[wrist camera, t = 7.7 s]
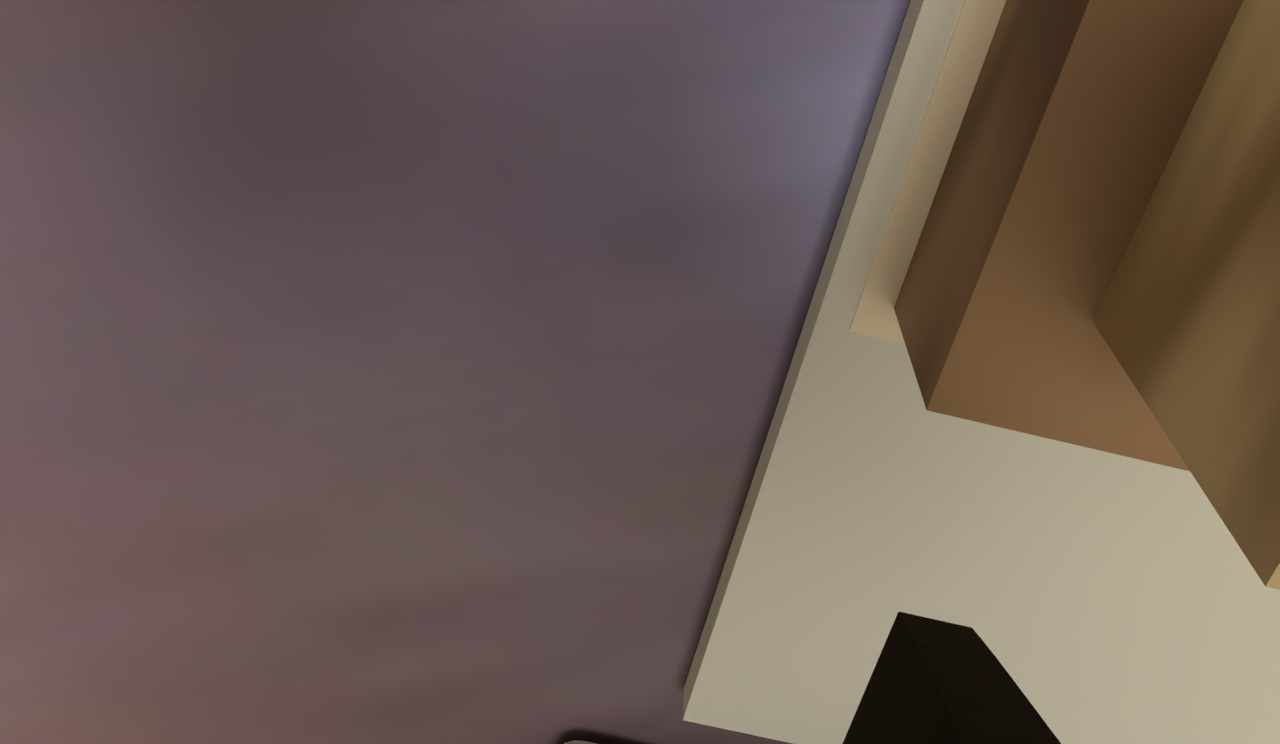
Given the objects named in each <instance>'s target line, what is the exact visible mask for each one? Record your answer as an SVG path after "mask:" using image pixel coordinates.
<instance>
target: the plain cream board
mask: <svg viewBox="0 0 1280 744" xmlns="http://www.w3.org/2000/svg"><path fill="white" fill-rule="evenodd" d="M1005 3H1006V0H911V1H910V4H909V7H908V10H907V13H906V16H905V19H904V22H903V25H902V28H901V31H900V34H899V37H898V40H897V43H896V46H895V49H894V52H893V55H892V58H891V61H890V64H889V68H888V71H887V74H886V77H885V80H884V83H883V86H882V89H881V92H880V95H879V98H878V101H877V104H876V107H875V110H874V113H873V116H872V119H871V122H870V125H869V128H868V131H867V134H866V137H865V140H864V143H863V146H862V149H861V152H860V155H859V158H858V161H857V165H856V168H855V171H854V174H853V177H852V180H851V183H850V186H849V189H848V192H847V195H846V198H845V201H844V204H843V207H842V210H841V213H840V216H839V219H838V222H837V225H836V228H835V231H834V234H833V237H832V240H831V243H830V246H829V249H828V252H827V255H826V259H825V262H824V265H823V268H822V271H821V274H820V277H819V280H818V283H817V286H816V289H815V292H814V295H813V298H812V301H811V304H810V307H809V310H808V313H807V316H806V319H805V322H804V325H803V328H802V331H801V334H800V337H799V340H798V343H797V346H796V349H795V352H794V356H793V359H792V362H791V365H790V368H789V371H788V374H787V377H786V380H785V383H784V386H783V389H782V392H781V395H780V398H779V401H778V404H777V407H776V410H775V413H774V416H773V419H772V422H771V425H770V428H769V431H768V434H767V437H766V440H765V443H764V446H763V450H762V453H761V456H760V459H759V462H758V465H757V468H756V471H755V474H754V477H753V480H752V483H751V486H750V489H749V492H748V495H747V498H746V501H745V504H744V507H743V510H742V513H741V516H740V519H739V522H738V525H737V528H736V531H735V534H734V537H733V540H732V543H731V547H730V550H729V553H728V556H727V559H726V562H725V565H724V568H723V571H722V574H721V577H720V580H719V583H718V586H717V589H716V592H715V595H714V598H713V601H712V604H711V607H710V610H709V613H708V616H707V619H706V622H705V625H704V628H703V631H702V634H701V637H700V641H699V644H698V647H697V650H696V653H695V656H694V659H693V662H692V665H691V668H690V671H689V674H688V677H687V680H686V683H685V686H684V693H683V720H685V721H689V722H694V723H699V724H703V725H708V726H713V727H717V728H722V729H727V730H732V731H736V732H741V733H746V734H750V735H755V736H760V737H764V738H769V739H774V740H779V741H783V742H788V743H793V744H843V741H844V739H845V737H846V734H847V732H848V729H849V727H850V725H851V722H852V720H853V718H854V715H855V713H856V711H857V708H858V706H859V703H860V701H861V699H862V696H863V694H864V692H865V689H866V687H867V685H868V682H869V680H870V677H871V675H872V673H873V670H874V668H875V666H876V663H877V661H878V659H879V656H880V654H881V651H882V649H883V647H884V644H885V642H886V640H887V637H888V635H889V633H890V630H891V628H892V625H893V623H894V621H895V618H896V616H897V614H898V611H899V612H904V613H908V614H913V615H917V616H922V617H926V618H931V619H935V620H940V621H944V622H949V623H953V624H958V625H962V626H967V627H972V628H973V629H974V631H975V632H976V633H977V634H978V635H979V637H980V638H981V639H982V640H983V641H984V643H985V644H986V645H987V646H988V648H989V649H990V650H991V651H992V653H993V654H994V655H995V657H996V658H997V659H998V660H999V662H1000V663H1001V664H1002V666H1003V667H1004V668H1005V670H1006V671H1007V672H1008V674H1009V675H1010V676H1011V677H1012V679H1013V680H1014V681H1015V683H1016V684H1017V685H1018V687H1019V688H1020V689H1021V691H1022V692H1023V693H1024V695H1025V696H1026V697H1027V699H1028V700H1029V701H1030V703H1031V704H1032V705H1033V707H1034V708H1035V709H1036V711H1037V712H1038V713H1039V715H1040V716H1041V717H1042V719H1043V720H1044V721H1045V723H1046V724H1047V725H1048V727H1049V728H1050V729H1051V731H1052V732H1053V733H1054V735H1055V736H1056V737H1057V739H1058V740H1059V741H1060V743H1061V744H1280V590H1278V589H1274V588H1270V587H1265V585H1264V584H1263V582H1262V581H1261V579H1260V578H1259V576H1258V575H1257V573H1256V572H1255V570H1254V568H1253V567H1252V565H1251V564H1250V562H1249V561H1248V559H1247V558H1246V556H1245V555H1244V553H1243V552H1242V550H1241V549H1240V547H1239V545H1238V544H1237V542H1236V541H1235V539H1234V538H1233V536H1232V535H1231V533H1230V532H1229V530H1228V529H1227V527H1226V526H1225V524H1224V522H1223V521H1222V519H1221V518H1220V516H1219V515H1218V513H1217V512H1216V510H1215V509H1214V507H1213V506H1212V504H1211V503H1210V501H1209V499H1208V498H1207V496H1206V495H1205V493H1204V492H1203V490H1202V489H1201V487H1200V486H1199V484H1198V483H1197V481H1196V480H1195V478H1194V476H1193V475H1192V473H1191V472H1190V471H1186V470H1182V469H1177V468H1173V467H1169V466H1165V465H1160V464H1156V463H1152V462H1147V461H1143V460H1139V459H1134V458H1130V457H1126V456H1121V455H1117V454H1113V453H1108V452H1104V451H1100V450H1096V449H1091V448H1087V447H1083V446H1078V445H1074V444H1070V443H1065V442H1061V441H1057V440H1052V439H1048V438H1044V437H1040V436H1035V435H1031V434H1027V433H1022V432H1018V431H1014V430H1009V429H1005V428H1001V427H996V426H992V425H988V424H983V423H979V422H975V421H971V420H966V419H962V418H958V417H953V416H949V415H945V414H940V413H936V412H932V411H927V410H926V407H925V404H924V401H923V398H922V395H921V392H920V388H919V385H918V382H917V379H916V376H915V373H914V370H913V367H912V364H911V360H910V357H909V354H908V351H907V348H906V345H905V342H904V339H903V336H902V332H901V329H900V326H899V323H898V320H897V317H896V314H895V311H894V306H895V303H896V300H897V298H898V295H899V292H900V290H901V287H902V284H903V281H904V279H905V276H906V273H907V270H908V268H909V265H910V262H911V259H912V257H913V254H914V251H915V249H916V246H917V243H918V240H919V238H920V235H921V232H922V229H923V227H924V224H925V221H926V218H927V216H928V213H929V210H930V208H931V205H932V202H933V199H934V197H935V194H936V191H937V188H938V186H939V183H940V180H941V178H942V175H943V172H944V169H945V167H946V164H947V161H948V158H949V156H950V153H951V150H952V147H953V145H954V142H955V139H956V137H957V134H958V131H959V128H960V126H961V123H962V120H963V117H964V115H965V112H966V109H967V106H968V104H969V101H970V98H971V96H972V93H973V90H974V87H975V85H976V82H977V79H978V76H979V74H980V71H981V68H982V66H983V63H984V60H985V57H986V55H987V52H988V49H989V46H990V44H991V41H992V38H993V35H994V33H995V30H996V27H997V25H998V22H999V19H1000V16H1001V14H1002V11H1003V8H1004V5H1005Z"/></svg>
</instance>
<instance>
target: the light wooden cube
mask: <svg viewBox="0 0 1280 744" xmlns="http://www.w3.org/2000/svg"><path fill="white" fill-rule="evenodd" d="M1093 323H1094V325H1095V326H1096V328H1097V329H1098V331H1099V332H1100V334H1101V335H1102V337H1103V339H1104V340H1105V342H1106V343H1107V345H1108V346H1109V348H1110V349H1111V351H1112V352H1113V354H1114V355H1115V357H1116V358H1117V360H1118V362H1119V363H1120V365H1121V366H1122V368H1123V369H1124V371H1125V372H1126V374H1127V375H1128V377H1129V378H1130V380H1131V381H1132V383H1133V385H1134V386H1135V388H1136V389H1137V391H1138V392H1139V394H1140V395H1141V397H1142V398H1143V400H1144V401H1145V403H1146V404H1147V406H1148V408H1149V409H1150V411H1151V412H1152V414H1153V415H1154V417H1155V418H1156V420H1157V421H1158V423H1159V424H1160V426H1161V427H1162V429H1163V431H1164V432H1165V434H1166V435H1167V437H1168V438H1169V440H1170V441H1171V443H1172V444H1173V446H1174V447H1175V449H1176V450H1177V452H1178V453H1179V455H1180V457H1181V458H1182V460H1183V461H1184V463H1185V464H1186V466H1187V467H1188V469H1189V470H1190V472H1191V473H1192V475H1193V476H1194V478H1195V480H1196V481H1197V483H1198V484H1199V486H1200V487H1201V489H1202V490H1203V492H1204V493H1205V495H1206V496H1207V498H1208V499H1209V501H1210V503H1211V504H1212V506H1213V507H1214V509H1215V510H1216V512H1217V513H1218V515H1219V516H1220V518H1221V519H1222V521H1223V522H1224V524H1225V526H1226V527H1227V529H1228V530H1229V532H1230V533H1231V535H1232V536H1233V538H1234V539H1235V541H1236V542H1237V544H1238V545H1239V547H1240V549H1241V550H1242V552H1243V553H1244V555H1245V556H1246V558H1247V559H1248V561H1249V562H1250V564H1251V565H1252V567H1253V568H1254V570H1255V572H1256V573H1257V575H1258V576H1259V578H1260V579H1261V581H1262V582H1263V584H1264V585H1265V587H1270V588H1274V589H1278V590H1280V0H1244V1H1243V3H1242V5H1241V7H1240V9H1239V11H1238V13H1237V16H1236V18H1235V20H1234V22H1233V24H1232V26H1231V28H1230V30H1229V33H1228V35H1227V37H1226V39H1225V41H1224V43H1223V45H1222V48H1221V50H1220V52H1219V54H1218V56H1217V58H1216V60H1215V62H1214V65H1213V67H1212V69H1211V71H1210V73H1209V75H1208V77H1207V80H1206V82H1205V84H1204V86H1203V88H1202V90H1201V92H1200V94H1199V97H1198V99H1197V101H1196V103H1195V105H1194V107H1193V109H1192V111H1191V114H1190V116H1189V118H1188V120H1187V122H1186V124H1185V126H1184V129H1183V131H1182V133H1181V135H1180V137H1179V139H1178V141H1177V143H1176V146H1175V148H1174V150H1173V152H1172V154H1171V156H1170V158H1169V161H1168V163H1167V165H1166V167H1165V169H1164V171H1163V173H1162V175H1161V178H1160V180H1159V182H1158V184H1157V186H1156V188H1155V190H1154V193H1153V195H1152V197H1151V199H1150V201H1149V203H1148V205H1147V207H1146V210H1145V212H1144V214H1143V216H1142V218H1141V220H1140V222H1139V224H1138V227H1137V229H1136V231H1135V233H1134V235H1133V237H1132V239H1131V242H1130V244H1129V246H1128V248H1127V250H1126V252H1125V254H1124V256H1123V259H1122V261H1121V263H1120V265H1119V267H1118V269H1117V271H1116V274H1115V276H1114V278H1113V280H1112V282H1111V284H1110V286H1109V288H1108V291H1107V293H1106V295H1105V297H1104V299H1103V301H1102V303H1101V306H1100V308H1099V310H1098V312H1097V314H1096V316H1095V318H1094V320H1093Z"/></svg>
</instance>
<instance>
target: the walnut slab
mask: <svg viewBox="0 0 1280 744" xmlns="http://www.w3.org/2000/svg"><path fill="white" fill-rule="evenodd" d="M1243 1H1244V0H1006V3H1005V5H1004V8H1003V11H1002V14H1001V16H1000V19H999V22H998V25H997V27H996V30H995V33H994V35H993V38H992V41H991V44H990V46H989V49H988V52H987V55H986V57H985V60H984V63H983V66H982V68H981V71H980V74H979V76H978V79H977V82H976V85H975V87H974V90H973V93H972V96H971V98H970V101H969V104H968V106H967V109H966V112H965V115H964V117H963V120H962V123H961V126H960V128H959V131H958V134H957V137H956V139H955V142H954V145H953V147H952V150H951V153H950V156H949V158H948V161H947V164H946V167H945V169H944V172H943V175H942V178H941V180H940V183H939V186H938V188H937V191H936V194H935V197H934V199H933V202H932V205H931V208H930V210H929V213H928V216H927V218H926V221H925V224H924V227H923V229H922V232H921V235H920V238H919V240H918V243H917V246H916V249H915V251H914V254H913V257H912V259H911V262H910V265H909V268H908V270H907V273H906V276H905V279H904V281H903V284H902V287H901V290H900V292H899V295H898V298H897V300H896V303H895V306H894V311H895V314H896V317H897V320H898V323H899V326H900V329H901V332H902V336H903V339H904V342H905V345H906V348H907V351H908V354H909V357H910V360H911V364H912V367H913V370H914V373H915V376H916V379H917V382H918V385H919V388H920V392H921V395H922V398H923V401H924V404H925V407H926V410H927V411H932V412H936V413H940V414H945V415H949V416H953V417H958V418H962V419H966V420H971V421H975V422H979V423H983V424H988V425H992V426H996V427H1001V428H1005V429H1009V430H1014V431H1018V432H1022V433H1027V434H1031V435H1035V436H1040V437H1044V438H1048V439H1052V440H1057V441H1061V442H1065V443H1070V444H1074V445H1078V446H1083V447H1087V448H1091V449H1096V450H1100V451H1104V452H1108V453H1113V454H1117V455H1121V456H1126V457H1130V458H1134V459H1139V460H1143V461H1147V462H1152V463H1156V464H1160V465H1165V466H1169V467H1173V468H1177V469H1182V470H1186V471H1190V470H1189V469H1188V467H1187V466H1186V464H1185V463H1184V461H1183V460H1182V458H1181V457H1180V455H1179V453H1178V452H1177V450H1176V449H1175V447H1174V446H1173V444H1172V443H1171V441H1170V440H1169V438H1168V437H1167V435H1166V434H1165V432H1164V431H1163V429H1162V427H1161V426H1160V424H1159V423H1158V421H1157V420H1156V418H1155V417H1154V415H1153V414H1152V412H1151V411H1150V409H1149V408H1148V406H1147V404H1146V403H1145V401H1144V400H1143V398H1142V397H1141V395H1140V394H1139V392H1138V391H1137V389H1136V388H1135V386H1134V385H1133V383H1132V381H1131V380H1130V378H1129V377H1128V375H1127V374H1126V372H1125V371H1124V369H1123V368H1122V366H1121V365H1120V363H1119V362H1118V360H1117V358H1116V357H1115V355H1114V354H1113V352H1112V351H1111V349H1110V348H1109V346H1108V345H1107V343H1106V342H1105V340H1104V339H1103V337H1102V335H1101V334H1100V332H1099V331H1098V329H1097V328H1096V326H1095V325H1094V323H1093V320H1094V318H1095V316H1096V314H1097V312H1098V310H1099V308H1100V306H1101V303H1102V301H1103V299H1104V297H1105V295H1106V293H1107V291H1108V288H1109V286H1110V284H1111V282H1112V280H1113V278H1114V276H1115V274H1116V271H1117V269H1118V267H1119V265H1120V263H1121V261H1122V259H1123V256H1124V254H1125V252H1126V250H1127V248H1128V246H1129V244H1130V242H1131V239H1132V237H1133V235H1134V233H1135V231H1136V229H1137V227H1138V224H1139V222H1140V220H1141V218H1142V216H1143V214H1144V212H1145V210H1146V207H1147V205H1148V203H1149V201H1150V199H1151V197H1152V195H1153V193H1154V190H1155V188H1156V186H1157V184H1158V182H1159V180H1160V178H1161V175H1162V173H1163V171H1164V169H1165V167H1166V165H1167V163H1168V161H1169V158H1170V156H1171V154H1172V152H1173V150H1174V148H1175V146H1176V143H1177V141H1178V139H1179V137H1180V135H1181V133H1182V131H1183V129H1184V126H1185V124H1186V122H1187V120H1188V118H1189V116H1190V114H1191V111H1192V109H1193V107H1194V105H1195V103H1196V101H1197V99H1198V97H1199V94H1200V92H1201V90H1202V88H1203V86H1204V84H1205V82H1206V80H1207V77H1208V75H1209V73H1210V71H1211V69H1212V67H1213V65H1214V62H1215V60H1216V58H1217V56H1218V54H1219V52H1220V50H1221V48H1222V45H1223V43H1224V41H1225V39H1226V37H1227V35H1228V33H1229V30H1230V28H1231V26H1232V24H1233V22H1234V20H1235V18H1236V16H1237V13H1238V11H1239V9H1240V7H1241V5H1242V3H1243Z"/></svg>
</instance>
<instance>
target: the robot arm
mask: <svg viewBox="0 0 1280 744" xmlns="http://www.w3.org/2000/svg"><path fill="white" fill-rule="evenodd" d="M564 744H597V743H592V742H587V741H576V740H574V741H570V742H566V743H564ZM843 744H1061V743H1060V741H1059V740H1058V739H1057V737H1056V736H1055V735H1054V733H1053V732H1052V731H1051V729H1050V728H1049V727H1048V725H1047V724H1046V723H1045V721H1044V720H1043V719H1042V717H1041V716H1040V715H1039V713H1038V712H1037V711H1036V709H1035V708H1034V707H1033V705H1032V704H1031V703H1030V701H1029V700H1028V699H1027V697H1026V696H1025V695H1024V693H1023V692H1022V691H1021V689H1020V688H1019V687H1018V685H1017V684H1016V683H1015V681H1014V680H1013V679H1012V677H1011V676H1010V675H1009V674H1008V672H1007V671H1006V670H1005V668H1004V667H1003V666H1002V664H1001V663H1000V662H999V660H998V659H997V658H996V657H995V655H994V654H993V653H992V651H991V650H990V649H989V648H988V646H987V645H986V644H985V643H984V641H983V640H982V639H981V638H980V637H979V635H978V634H977V633H976V632H975V631H974V629H973V628H972V627H967V626H962V625H958V624H953V623H949V622H944V621H940V620H935V619H931V618H926V617H922V616H917V615H913V614H908V613H904V612H899V611H898V614H897V616H896V618H895V621H894V623H893V625H892V628H891V630H890V633H889V635H888V637H887V640H886V642H885V644H884V647H883V649H882V651H881V654H880V656H879V659H878V661H877V663H876V666H875V668H874V670H873V673H872V675H871V677H870V680H869V682H868V685H867V687H866V689H865V692H864V694H863V696H862V699H861V701H860V703H859V706H858V708H857V711H856V713H855V715H854V718H853V720H852V722H851V725H850V727H849V729H848V732H847V734H846V737H845V739H844V741H843Z"/></svg>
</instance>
